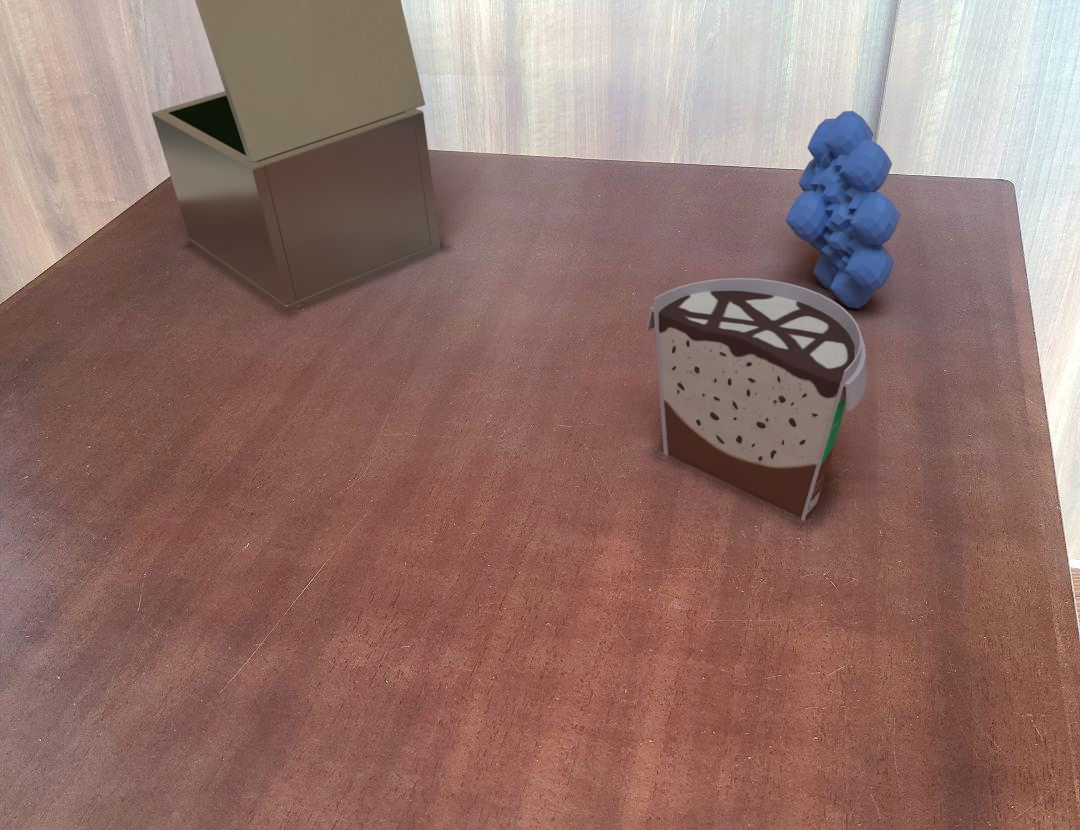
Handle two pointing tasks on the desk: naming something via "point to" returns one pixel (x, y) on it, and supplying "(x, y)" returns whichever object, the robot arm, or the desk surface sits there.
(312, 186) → the bin
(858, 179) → the grapes
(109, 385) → the desk surface
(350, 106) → the bin lid
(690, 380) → the food container
